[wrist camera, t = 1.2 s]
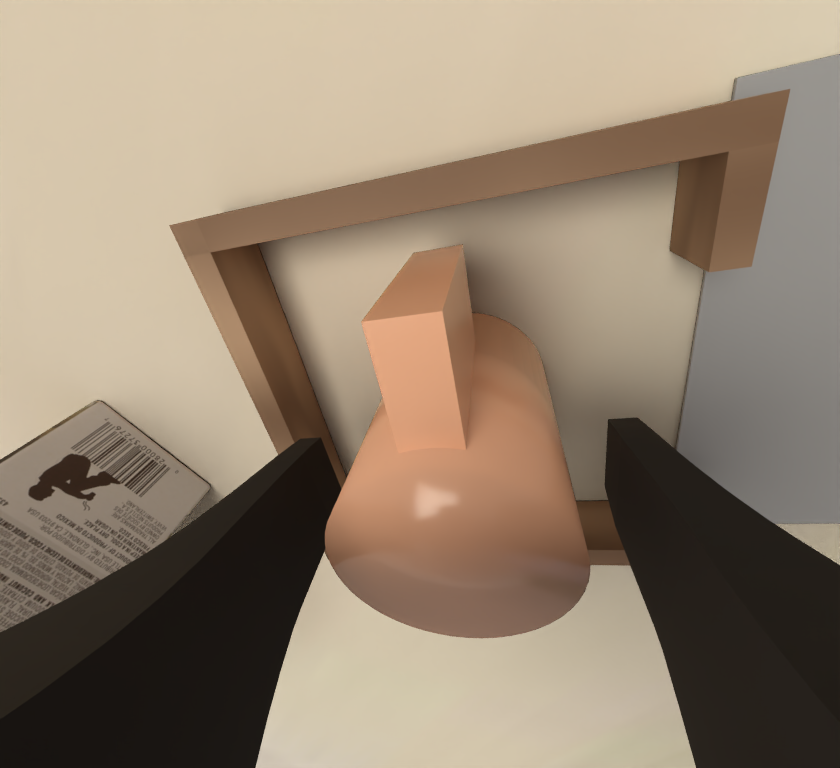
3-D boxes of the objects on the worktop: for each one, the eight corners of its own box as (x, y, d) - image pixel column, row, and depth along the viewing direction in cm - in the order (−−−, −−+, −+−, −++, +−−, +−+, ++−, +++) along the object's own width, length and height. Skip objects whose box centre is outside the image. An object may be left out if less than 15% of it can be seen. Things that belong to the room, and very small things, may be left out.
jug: (547, 435, 14) (587, 645, 8) (413, 442, 15) (362, 631, 9) (538, 217, 10) (598, 304, 5) (363, 248, 12) (229, 350, 6)
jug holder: (662, 514, 15) (686, 566, 13) (345, 517, 18) (328, 559, 16) (725, 101, 9) (790, 88, 7) (220, 213, 12) (169, 225, 10)
